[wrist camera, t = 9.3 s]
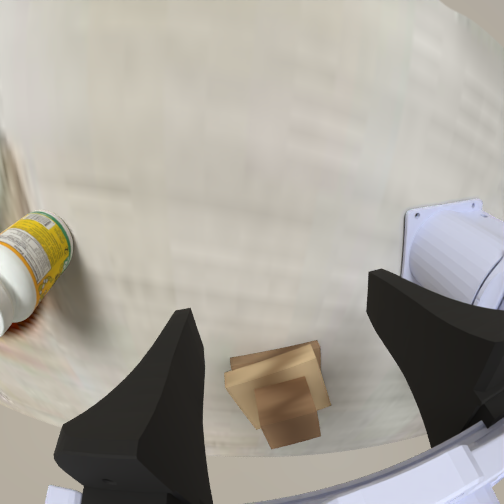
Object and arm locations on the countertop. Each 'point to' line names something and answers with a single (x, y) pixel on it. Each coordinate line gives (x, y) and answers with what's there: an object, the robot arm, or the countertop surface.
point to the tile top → (276, 379)
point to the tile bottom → (272, 355)
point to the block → (287, 412)
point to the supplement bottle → (31, 263)
